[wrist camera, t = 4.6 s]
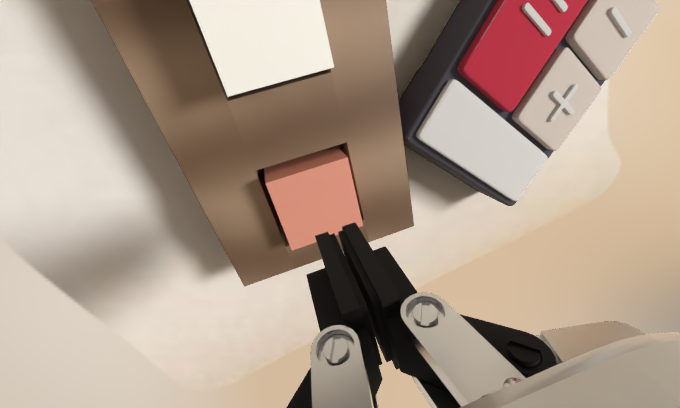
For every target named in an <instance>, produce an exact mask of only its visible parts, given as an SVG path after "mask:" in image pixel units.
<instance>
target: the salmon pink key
mask: <svg viewBox="0 0 680 408" xmlns="http://www.w3.org/2000/svg"><path fill="white" fill-rule="evenodd" d="M264 174H265V183H266V186H267V189H268V191H269V194H270V196H271V199H272V201H273V204H274V206H275V209H276V211H277V214H278V217H279V219H280V222H281V224H282V227H283V229H284V232H285V234H286V237H287V239H288V242H289V245H290V247H291V250H295V249H298V248H301V247H304V246H307V245H309V244H312V243H315V242H317V241H316V238H315V236H316V235H319V234H322V233H325V232H328V233H329V235H330V234H333V233H334V234H335V235H338V232H339V231H342V226H345V225H348V224H351V223H354V222H355V223H356V224H357V226H358V227H361V226H363V223H362V218H361V214H360V209H359V205H358V201H357V196H356V192H355V187H354V183H353V179H352V174H351V170H350V165H349V161H348V157H347V156H346V155H345V154H344V153H343V152H342V151H341V150H340V149H339V148H338V147H337V146H333V147H330V148H327V149H324V150H321V151H317V152H314V153H311V154H308V155H304V156H301V157H298V158H295V159H292V160H288V161H285V162H282V163H279V164H275V165H272V166H269V167H266V168H264Z"/></svg>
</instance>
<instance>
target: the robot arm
mask: <svg viewBox="0 0 680 408" xmlns="http://www.w3.org/2000/svg"><path fill="white" fill-rule="evenodd" d="M338 234H339V237H340V241H341V245H342V248H343V251H342V249H341V247H340V245H339V242H338V240H337V238H336V236H335V234H334V233H333V234H330V235H329V233H328V232H325V233H322V234H319V235H316V236H315V238H316V241H317V244H318V247H319V250H320V253H321V256H322V259H323V262H324V265H325V268H324V269H321V270H318V271H316V272H313V273H310V274H307V279H308V283H309V287H310V291H311V295H312V300H313V304H314V308H315V312H316V316H317V320H318V324H319V328H320V333H319V334H318V335H317V336H316V338H315V339H314V341H313V343H312V346H311V368H310V370H309V371H308V373H307V375H306V376H305V378H304V380H303V381H302V383H301V385H300V387H299V388H298V390H297V391H296V393H295V395H294V396H293V398H292V400H291V401H290V403H289V405H288V406H287V408H379V405H378V401H377V397H376V394H377V391H378V389H379V386H380V384H381V381H382V376H381V372H380V369H379V365H381V364H382V362H381V358H380V354H379V350H378V346H377V342H378V344H379V346H380V349H381V351H382V353H383V355H384V358H385V360H386V361H387V362H388V361H391V360H392V361H393V364H394V366H395V368H396V369H400V371H401V372H403V373H406V374H408V375H411V376H412V377H413V380H414V382H415V383H416V385H417V386H418V388H419V389H420V391H421V392H422V394H423V395H424V397H425V398H426V400H427V401H428V403H429V404H430V405H431V407H432V408H680V332H667V333H652V334H646V335H645V334H644V333H643V332H641V331H640V330H639V329H636V328H634V327H632V326H630V325H628V324H625V323H620V322H617V321H604V322H598V323H591V324H585V325H579V326H572V327H566V328H559V329H552V330H546V331H541V335H536V336H534V335H532V334H529V333H526V332H523V331H520V330H516V329H512V328H508V327H505V326H501V325H497V324H494V323H490V322H486V321H483V320H479V319H474V318H471V317H468V316H463V315H460V314H459V313H457V312H456V311H455V310H454V309H453V308H452V307H451V306H450V305H449V304H448V303H447V302H446V301H445V300H444V299H442V298H441V297H439V296H438V295H435V294H433V293H426V292H422V293H417V291H416V290H415V288H414V287H413V285H412V284H411V282H410V281H409V280H408V278H407V277H406V275H405V274H404V272H403V271H402V269H401V268H400V267H399V265H398V264H397V262H396V261H395V259H394V258H393V256H392V255H391V254H390V252H389V251H388V249H387V248H386V247H382V248H379V249H377V250H374V251H373V250H372V249H371V247H370V245H369V244H368V242H367V240H366V239H365V237H364V235H363V234H362V232H361V231H360V229H359V227H358V226H357V224H356V223H355V222H354V223H351V224H348V225H345V226H342V231H339V232H338ZM343 252H344V253H343ZM344 255H345V256H344ZM375 337H376V338H375ZM376 339H377V342H376Z"/></svg>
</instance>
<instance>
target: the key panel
mask: <svg viewBox="0 0 680 408" xmlns="http://www.w3.org/2000/svg"><path fill="white" fill-rule="evenodd" d="M91 1H92V3H93V4H94V6H95V8H96V10H97V12H98V14H99V16H100V18H101V19H102V21H103V23H104V25H105V27H106V29H107V31H108V32H109V34H110V36H111V38H112V40H113V42H114V44H115V46H116V47H117V49H118V51H119V53H120V55H121V57H122V59H123V61H124V62H125V64H126V66H127V68H128V70H129V72H130V74H131V75H132V77H133V79H134V81H135V83H136V85H137V87H138V89H139V90H140V92H141V94H142V96H143V98H144V100H145V102H146V104H147V105H148V107H149V109H150V111H151V113H152V115H153V117H154V118H155V120H156V122H157V124H158V126H159V128H160V130H161V132H162V133H163V135H164V137H165V139H166V141H167V143H168V145H169V147H170V148H171V150H172V152H173V154H174V156H175V158H176V160H177V161H178V163H179V165H180V167H181V169H182V171H183V173H184V175H185V176H186V178H187V180H188V182H189V184H190V186H191V188H192V189H193V191H194V193H195V195H196V197H197V199H198V201H199V203H200V204H201V206H202V208H203V210H204V212H205V214H206V216H207V218H208V219H209V221H210V223H211V225H212V227H213V229H214V231H215V232H216V234H217V236H218V238H219V240H220V242H221V244H222V246H223V247H224V249H225V251H226V253H227V255H228V257H229V259H230V261H231V262H232V264H233V266H234V268H235V270H236V272H237V274H238V275H239V277H240V279H241V281H242V283H243V285H244V286H247V285H250V284H253V283H256V282H258V281H261V280H264V279H267V278H270V277H272V276H275V275H278V274H281V273H284V272H286V271H289V270H292V269H295V268H298V267H300V266H303V265H306V264H309V263H312V262H314V261H317V260H320V259H322V256H321V253H320V250H319V247H318V244H317V242H315V243H312V244H309V245H307V246H304V247H301V248H298V249H295V250H291V247H290V245H289V242H288V239H287V237H286V234H285V232H284V229H283V227H282V224H281V222H280V219H279V217H278V214H277V211H276V209H275V206H274V204H273V201H272V199H271V196H270V194H269V191H268V189H267V186H266V183H265V180H264V178H263V175H262V173H261V170H260V169H263V168H266V167H269V166H272V165H275V164H279V163H282V162H285V161H288V160H292V159H295V158H298V157H301V156H304V155H308V154H311V153H314V152H317V151H321V150H324V149H327V148H330V147H333V146H337V145H338V148H339V149H340V150H341V151H342V152H343V153H344V154H345V155H346V156H347V157H348V161H349V165H350V170H351V174H352V179H353V183H354V187H355V192H356V196H357V201H358V205H359V209H360V214H361V218H362V223H363V226H361V227H359V229H360V231H361V232H362V234H363V235H364V237H365V239H366V240H367V242H370V241H373V240H376V239H379V238H382V237H384V236H387V235H390V234H393V233H396V232H398V231H401V230H404V229H407V228H409V227H412V226H414V222H413V214H412V206H411V198H410V190H409V182H408V174H407V166H406V158H405V150H404V142H403V134H402V126H401V118H400V110H399V102H398V94H397V85H396V77H395V69H394V61H393V53H392V45H391V37H390V29H389V21H388V13H387V5H386V0H320V3H321V8H322V13H323V17H324V22H325V27H326V31H327V36H328V40H329V45H330V50H331V54H332V59H333V64H334V68H330V69H326V70H323V71H319V72H316V73H312V74H308V75H305V76H301V77H298V78H294V79H290V80H287V81H283V82H279V83H276V84H272V85H269V86H265V87H261V88H258V89H254V90H250V91H247V92H243V93H240V94H236V95H232V96H229V97H228V96H227V94H226V91H225V89H224V86H223V84H222V81H221V79H220V76H219V74H218V71H217V69H216V66H215V64H214V61H213V59H212V56H211V54H210V51H209V49H208V46H207V44H206V41H205V39H204V36H203V33H202V31H201V28H200V26H199V23H198V21H197V18H196V16H195V13H194V11H193V8H192V6H191V3H190V1H189V0H91ZM335 236H336V238H337V240H338V242H339V245H340V247H341V249H342V251H343V248H342V245H341V241H340V237H339V234H338V235H335Z"/></svg>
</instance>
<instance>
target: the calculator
mask: <svg viewBox="0 0 680 408" xmlns="http://www.w3.org/2000/svg"><path fill="white" fill-rule="evenodd" d="M658 10H659V9H658V6H657V4H656V2H655V0H461V1H460V2H459V4H458V6H457V7H456V9H455V11H454V13H453V14H452V16H451V18H450V19H449V21H448V23H447V25H446V26H445V28H444V30H443V31H442V33H441V35H440V37H439V38H438V40H437V42H436V44H435V45H434V47H433V49H432V50H431V52H430V54H429V56H428V57H427V59H426V61H425V62H424V64H423V66H422V67H421V68H420V69H419V70H418V71H417V72H416V74H415V75H414V77H413V79H412V80H411V82H410V84H409V85H408V87H407V89H406V90H405V92H404V93H403V95H402V97H401V98H400V100H399V110H400V118H401V126H402V134H403V142H404V145H405V146H407V147H408V148H410V149H411V150H413V151H415V152H416V153H418V154H419V155H421V156H423V157H424V158H426V159H428V160H429V161H431V162H432V163H434V164H436V165H437V166H439V167H440V168H442V169H444V170H445V171H447V172H448V173H450V174H452V175H453V176H455V177H456V178H458V179H460V180H461V181H463V182H464V183H466V184H468V185H469V186H471V187H472V188H474V189H476V190H477V191H479V192H481V193H483V194H485V195H487V196H489V197H491V198H493V199H495V200H497V201H499V202H501V203H503V204H505V205H508V206H512V205H514V204H515V203H516V202H517V200H518V199H519V198H520V197H521V195H522V194H523V193H524V191H525V190H526V189H527V187H528V186H529V185H530V183H531V182H532V180H533V179H534V178H535V176H536V175H537V174H538V172H539V171H540V169H541V168H542V167H543V165H544V164H545V163H546V161H547V159H548V158H549V156H550V155H551V154H552V152H553V151H556V150H557V149H558V148H559V147H560V146H561V145H562V143H563V142H564V141H565V139H566V138H567V136H568V135H569V134H570V132H571V131H572V130H573V128H574V127H575V125H576V124H577V123H578V121H579V120H580V119H581V117H582V116H583V115H584V113H585V112H586V110H587V109H588V108H589V106H590V105H591V104H592V102H593V101H594V100H595V98H596V97H597V95H598V94H599V92H600V90H601V85H602V84H603V82H604V81H605V80H608V79H609V78H610V77H611V76H612V75H613V74H614V72H615V71H616V69H617V68H618V66H619V65H620V64H621V63H622V61H623V60H624V59H625V57H626V56H627V54H628V53H629V52H630V50H631V49H632V47H633V46H634V44H635V43H636V42H637V41H638V39H639V38H640V37H641V35H642V34H643V33H644V31H645V30H646V28H647V27H648V26H649V24H650V23H651V22H652V20H653V19H654V18H655V16H656V14H657V13H658Z"/></svg>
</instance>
